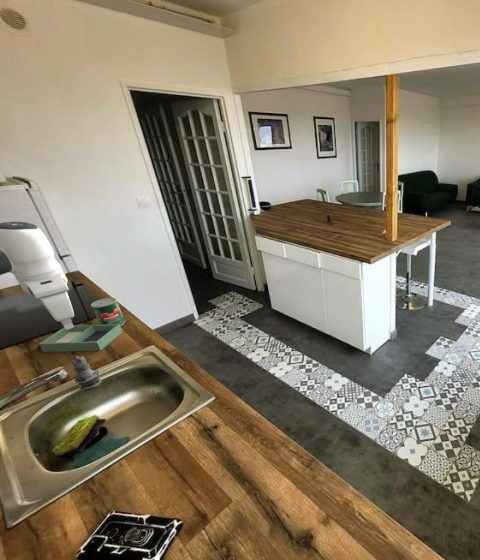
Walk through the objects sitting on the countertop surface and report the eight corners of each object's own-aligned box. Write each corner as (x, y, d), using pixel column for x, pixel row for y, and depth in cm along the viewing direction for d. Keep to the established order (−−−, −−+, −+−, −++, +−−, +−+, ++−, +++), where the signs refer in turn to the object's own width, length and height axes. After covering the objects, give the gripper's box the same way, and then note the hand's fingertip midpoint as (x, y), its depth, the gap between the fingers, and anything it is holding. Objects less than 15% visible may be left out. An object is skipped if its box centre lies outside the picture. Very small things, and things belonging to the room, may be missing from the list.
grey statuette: (102, 375, 105) (87, 347, 99) (104, 384, 101) (89, 355, 96) (78, 384, 101) (62, 355, 96) (79, 394, 97) (62, 364, 92)
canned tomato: (114, 318, 136) (104, 296, 131) (130, 320, 135) (121, 298, 130) (96, 328, 128) (85, 306, 124) (112, 330, 128) (102, 307, 123)
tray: (100, 350, 116) (96, 342, 115) (43, 352, 115) (38, 343, 113) (122, 331, 127) (119, 324, 125) (70, 333, 125) (66, 325, 124)
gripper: (20, 274, 89) (43, 315, 95) (34, 295, 78) (58, 340, 84) (51, 267, 93) (70, 306, 99) (68, 286, 82) (89, 329, 88)
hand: (65, 322), depth 91 cm, fingers open, 8 cm apart
